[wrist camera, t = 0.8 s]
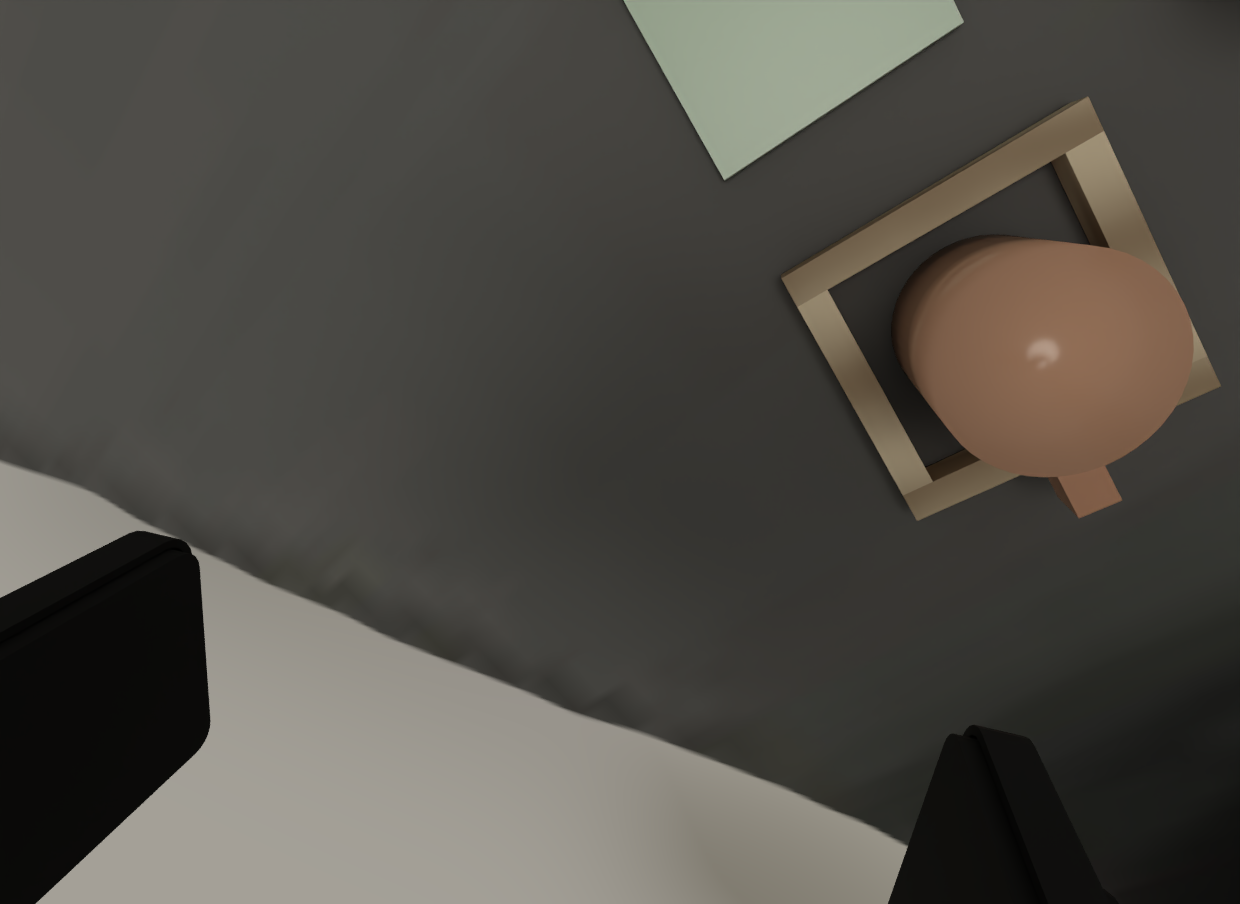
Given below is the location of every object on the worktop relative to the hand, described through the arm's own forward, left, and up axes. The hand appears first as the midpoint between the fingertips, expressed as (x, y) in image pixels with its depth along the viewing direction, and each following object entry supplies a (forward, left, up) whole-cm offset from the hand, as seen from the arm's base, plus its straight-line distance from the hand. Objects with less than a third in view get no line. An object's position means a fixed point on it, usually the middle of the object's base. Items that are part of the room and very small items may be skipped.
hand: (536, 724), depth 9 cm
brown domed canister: (-6, -10, -23) cm, 25 cm away
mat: (+10, -9, -23) cm, 26 cm away
